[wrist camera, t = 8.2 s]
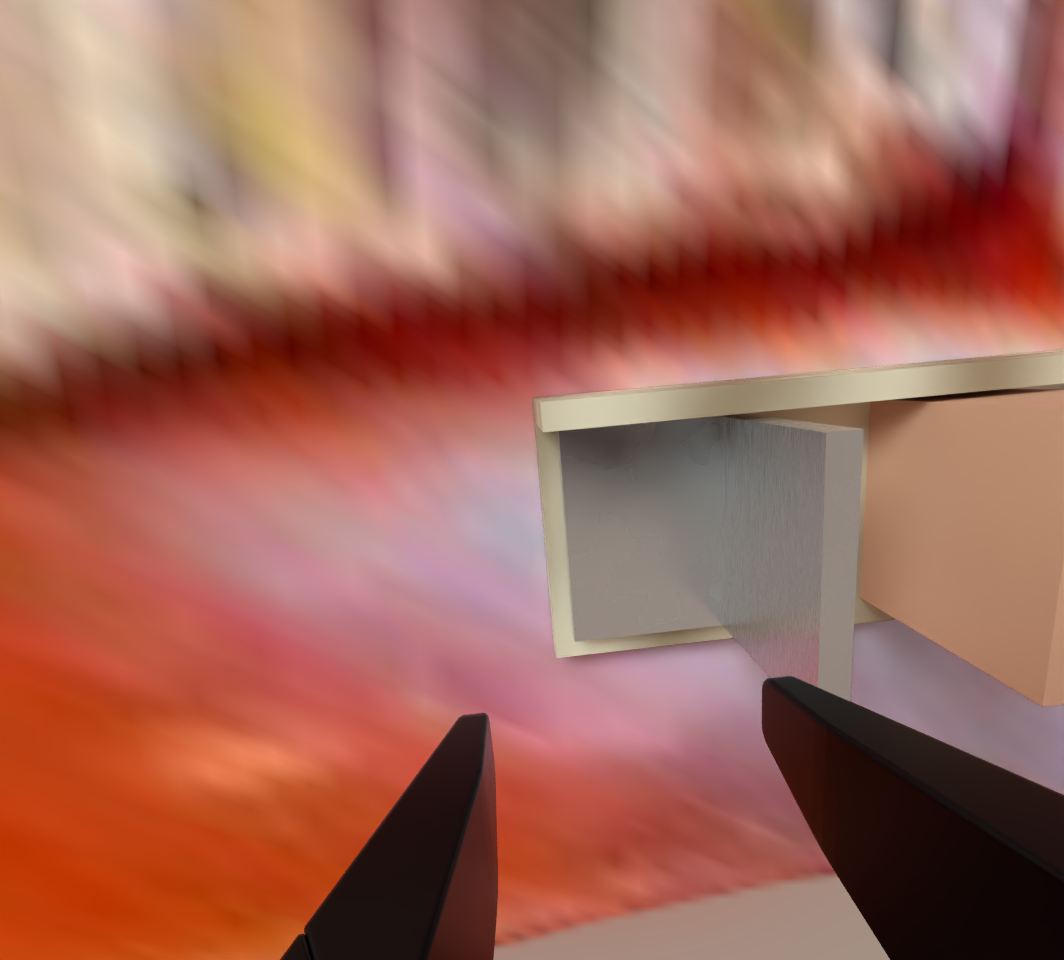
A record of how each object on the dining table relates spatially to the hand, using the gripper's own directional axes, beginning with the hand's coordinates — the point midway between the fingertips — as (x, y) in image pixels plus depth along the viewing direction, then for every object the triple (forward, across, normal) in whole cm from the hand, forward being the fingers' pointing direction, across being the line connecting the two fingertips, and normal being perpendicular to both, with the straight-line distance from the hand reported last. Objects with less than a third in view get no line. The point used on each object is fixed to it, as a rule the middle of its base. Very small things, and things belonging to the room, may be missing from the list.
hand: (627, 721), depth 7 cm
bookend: (+9, -3, 0) cm, 9 cm away
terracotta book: (+9, -13, 0) cm, 15 cm away
